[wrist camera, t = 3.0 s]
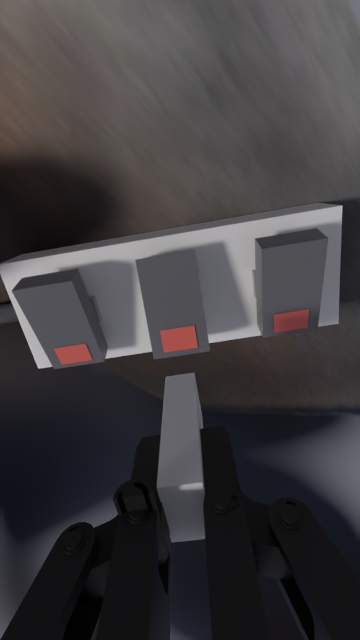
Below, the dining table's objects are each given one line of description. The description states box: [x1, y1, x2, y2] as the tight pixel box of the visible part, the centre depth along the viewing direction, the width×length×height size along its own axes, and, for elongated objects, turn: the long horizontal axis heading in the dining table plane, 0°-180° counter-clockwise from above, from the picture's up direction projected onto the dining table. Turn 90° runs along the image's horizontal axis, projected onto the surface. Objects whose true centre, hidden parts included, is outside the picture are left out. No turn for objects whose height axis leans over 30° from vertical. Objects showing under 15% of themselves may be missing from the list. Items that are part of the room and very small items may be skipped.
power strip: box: [0, 203, 342, 369], centre depth 26 cm, size 9×33×5 cm, turn 99°
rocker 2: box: [135, 250, 210, 359], centre depth 22 cm, size 7×4×2 cm, turn 9°
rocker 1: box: [12, 269, 108, 369], centre depth 23 cm, size 7×4×2 cm, turn 10°
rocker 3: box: [255, 228, 328, 338], centre depth 22 cm, size 7×4×2 cm, turn 10°
